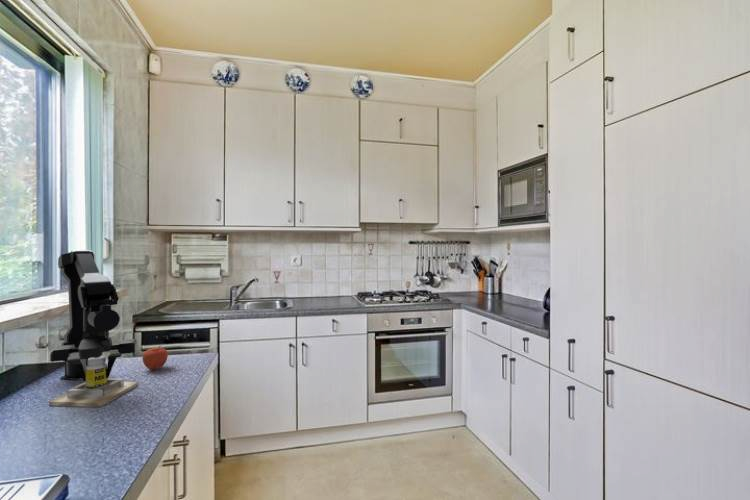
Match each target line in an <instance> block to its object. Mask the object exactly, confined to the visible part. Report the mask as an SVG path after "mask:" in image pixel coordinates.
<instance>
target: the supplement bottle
mask: <svg viewBox="0 0 750 500" xmlns="http://www.w3.org/2000/svg"><path fill="white" fill-rule="evenodd" d="M106 361H107V359H106V356H104V355H102V356H101V357H98V358H89V359H88V366H87V367H86V381H85V382H86V389H100V388H102V387H104V386H106V385H107V378H106V372H107V365H108V363H106Z"/></svg>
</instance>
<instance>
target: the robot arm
mask: <svg viewBox="0 0 750 500" xmlns="http://www.w3.org/2000/svg"><path fill="white" fill-rule="evenodd" d="M57 259H58V260H57V267H58V269H60V273H61V275H62V277H63V278H64V279H65V280H66V281H67V287H68V288H67V289H68V310H69V312H68V313H69V328H68V330H67V331H66V333H65V334H64V335H63V341H62V342H61V345H58V346H57V347H56V348H54V349H53V350H52V351H51V352H50V355H49V356H50V357H49V361H50V362H52V363H53V362H60V361H61V362H64V375H62V376H60V377H59V378H60V380H81V379H82V381H83V383H84V382H86V367H87V366H88V359H89V358H98V357H101V356H103V353H106V352H109V355H108V356H107V372H106V378H110V374H111V372H112V369H113V367H114V365H115V362H116V360H117V358H120V357H122V355H125V354H133V353H135V352H136V350H137V349H138V340H137V339H135V338H131V339H121V340H120V341H119V343H114V344H113V341H112V340H113V339H112V337H110V331H112V330H114V329H115V328H116V327H117V326H118V325H119V323H120V319H121V317H120V315H119V313H118V312H117V311H116V310H114V309H112V306H116V305H118V301H119V294H118V292H117V289H116V287H115V286H114V283H112V282H111V280H110V278H109V277H108V276H105V275H103V274H101V272H100V271H99V268H98V265H97V263H96V262H95V261H96V258H95V254H94V252H93V250H90V249H75V250H71V251H70V252H67V253H63V254H60V256H59V257H58V258H57Z"/></svg>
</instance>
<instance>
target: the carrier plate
mask: <svg viewBox="0 0 750 500" xmlns="http://www.w3.org/2000/svg"><path fill="white" fill-rule="evenodd" d="M138 386H139V382H138V381H137V382H136V381H125V378H117V377H114V378H113V377H111V378H110V377H109V378H107V385H106V386H104V387H102V388H100V389H86V381H85V382H84V381H83V382H82V383H81V384H78V385H76V386H74V387H72V388H69V389H67V390H66V393H64V394H63V395H60V396H59V397H56V398H54V399H51V400H50V401H49V402H48V403H49V406H57V407H58V406H64V407H88V408H90V407H94V408H96V407H97V408H101V407H103V406H105V405H106V404H108V403H110V402H112V401H113V400H115V399H117V398H119V397H120V396H122V395H124V394H126V393H128V392H129V391H131V390H133V389H134V388H136V387H138Z"/></svg>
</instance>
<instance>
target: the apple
mask: <svg viewBox="0 0 750 500" xmlns="http://www.w3.org/2000/svg"><path fill="white" fill-rule="evenodd" d="M168 355H169V353H168V351H167V350H166V349H165V348H163V347H161V345H158V347H152V348H149V349H147V350H145V351H144V352H143V354H142V362H143V365H144V366H145V367H146V368H147V369H148V370H150V371H156V370H158V369H161V368H162V367H163V366H164V365H165V364H166V362H167V360H168V358H169V356H168Z"/></svg>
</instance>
